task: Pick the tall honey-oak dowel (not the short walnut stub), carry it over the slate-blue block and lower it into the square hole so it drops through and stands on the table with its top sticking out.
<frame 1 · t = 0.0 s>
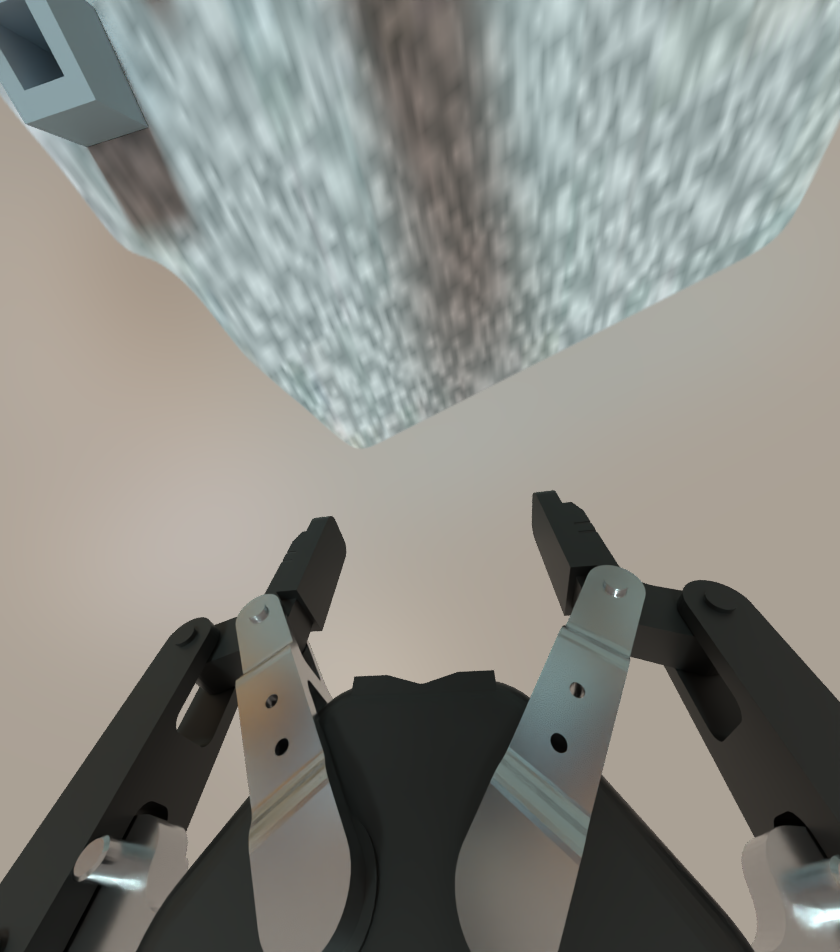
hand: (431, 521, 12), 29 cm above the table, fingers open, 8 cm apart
hole block: (89, 82, 26), on the table
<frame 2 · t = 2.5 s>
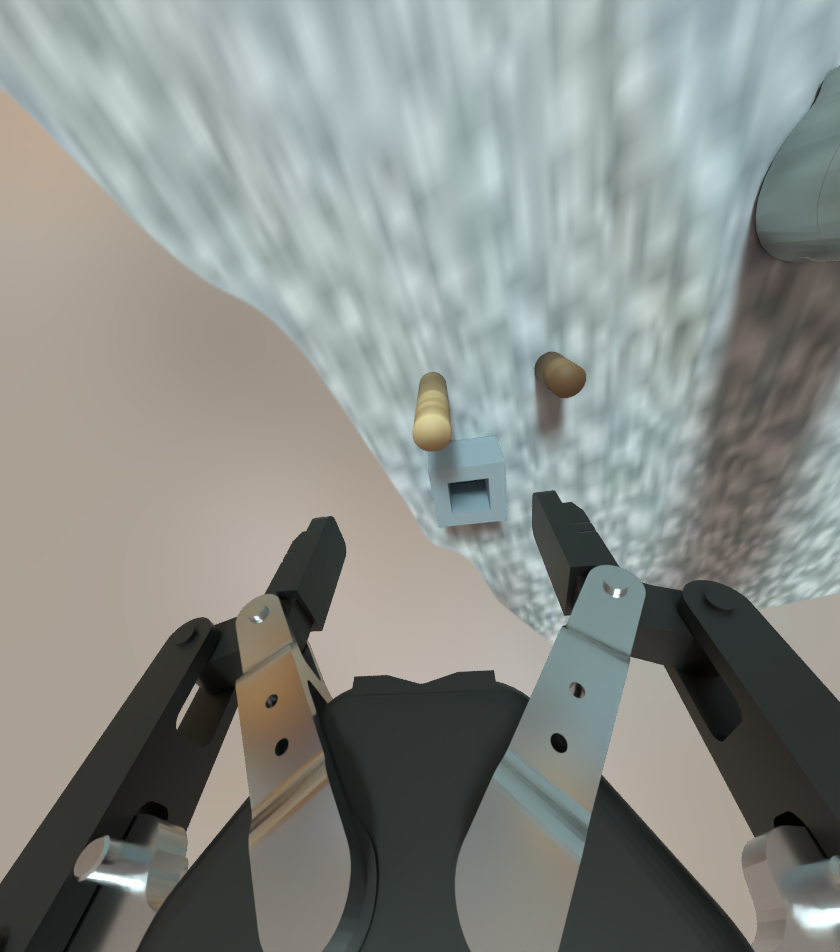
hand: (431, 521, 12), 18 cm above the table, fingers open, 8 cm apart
short dowel: (549, 366, 26), on the table
hole block: (465, 468, 32), on the table
long dowel: (432, 385, 27), on the table
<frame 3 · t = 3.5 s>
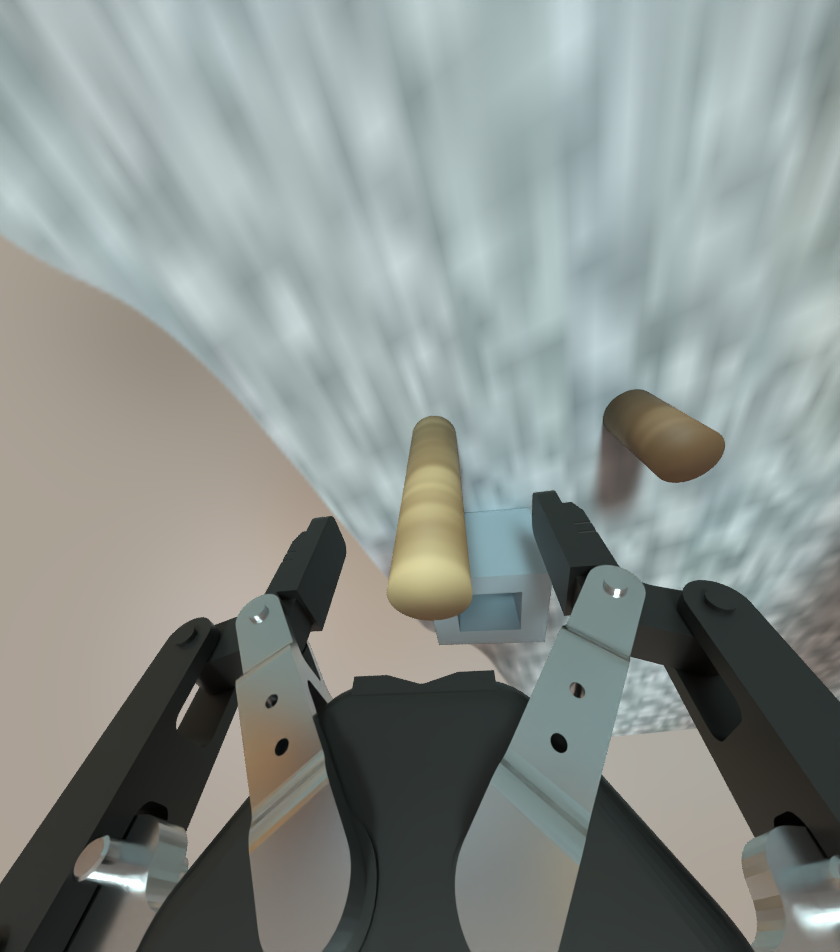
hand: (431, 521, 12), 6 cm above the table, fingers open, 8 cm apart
short dowel: (628, 412, 16), on the table
hole block: (479, 547, 21), on the table
long dowel: (434, 436, 17), on the table
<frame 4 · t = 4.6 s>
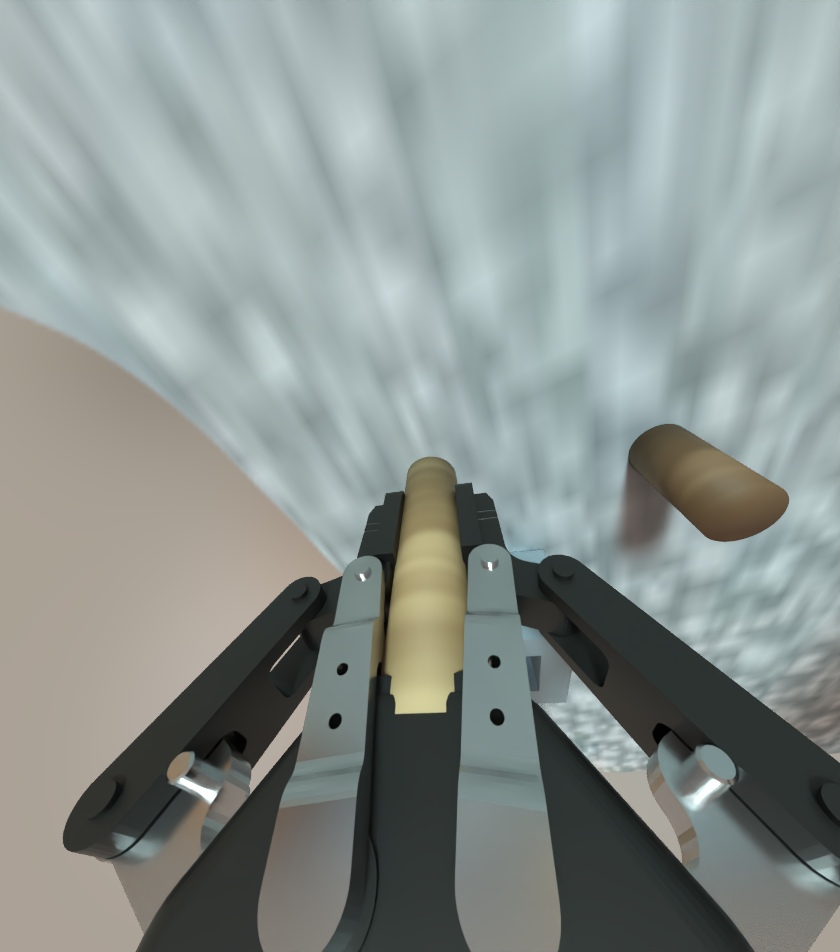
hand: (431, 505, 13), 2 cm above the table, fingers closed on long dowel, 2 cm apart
short dowel: (658, 449, 14), on the table
hole block: (488, 590, 19), on the table
long dowel: (431, 478, 15), on the table, touching gripper
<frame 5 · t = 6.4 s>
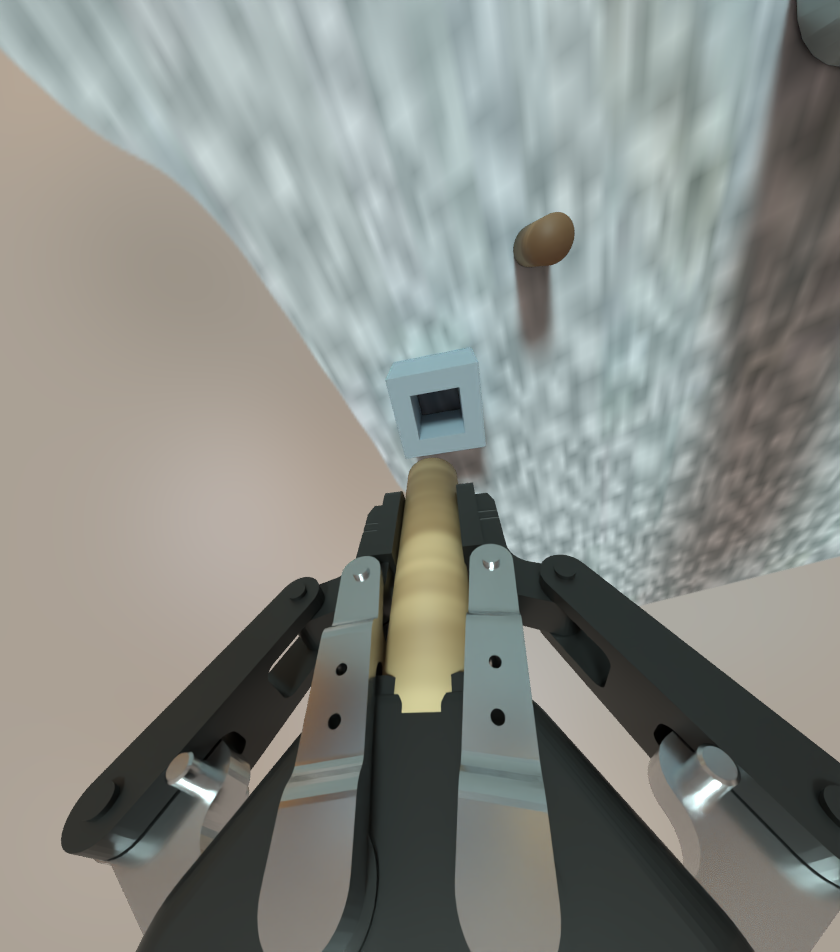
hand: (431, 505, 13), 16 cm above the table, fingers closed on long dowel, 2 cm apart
short dowel: (531, 246, 21), on the table
hole block: (437, 393, 27), on the table
long dowel: (432, 478, 15), point 14 cm above the table, touching gripper
when the fingers open (6 cm above the table, at t = 8.1 s): long dowel drops 4 cm, resting in hole block.
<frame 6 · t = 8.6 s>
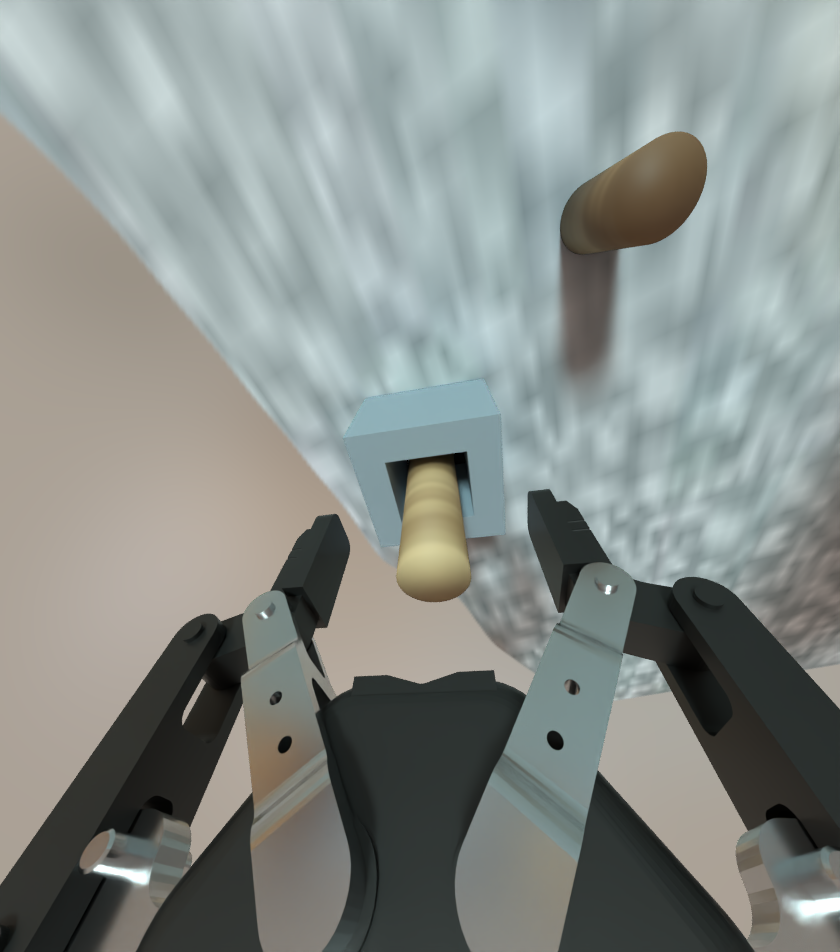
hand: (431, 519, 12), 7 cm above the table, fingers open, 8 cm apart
short dowel: (590, 218, 12), on the table
hole block: (432, 441, 18), on the table
long dowel: (431, 443, 18), resting in hole block
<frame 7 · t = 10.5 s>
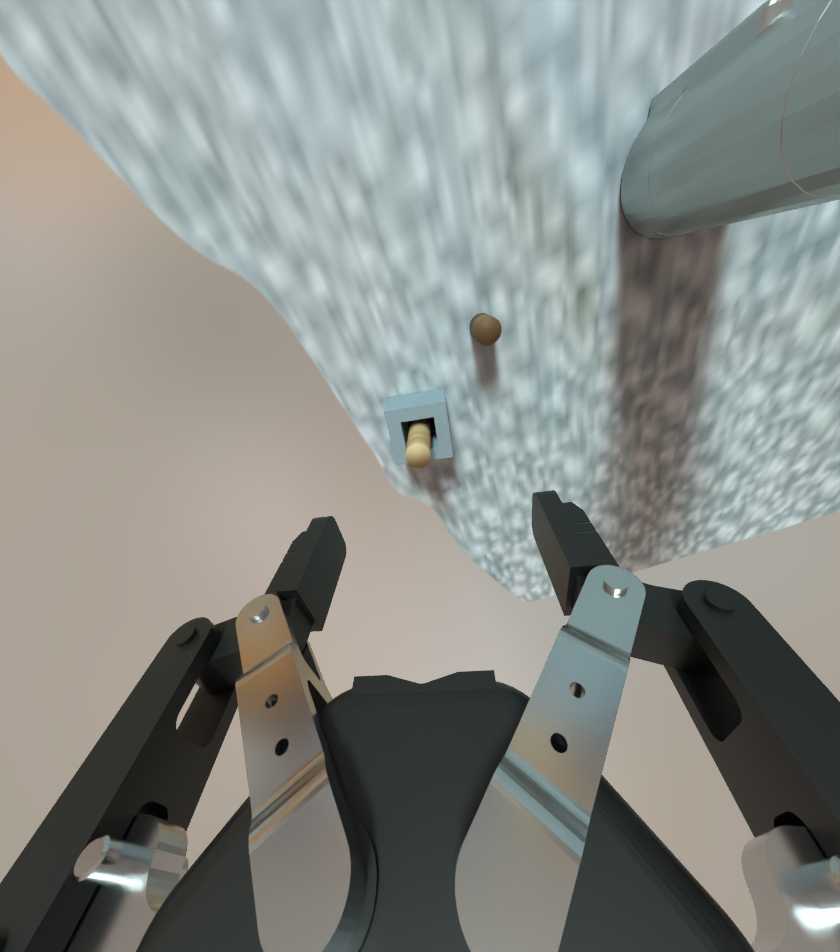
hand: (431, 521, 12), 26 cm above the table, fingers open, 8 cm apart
short dowel: (481, 326, 32), on the table
hole block: (421, 418, 37), on the table
long dowel: (420, 419, 38), resting in hole block
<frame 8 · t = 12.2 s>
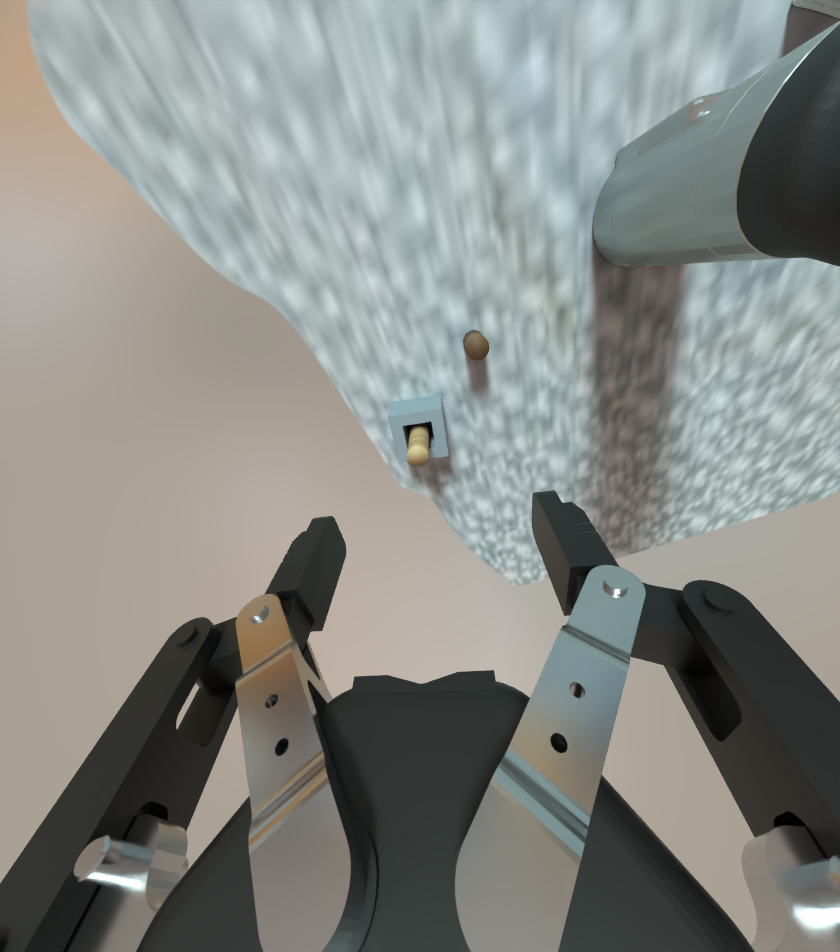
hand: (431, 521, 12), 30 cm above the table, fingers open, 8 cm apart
short dowel: (473, 341, 36), on the table
hole block: (420, 421, 42), on the table
long dowel: (420, 421, 42), resting in hole block
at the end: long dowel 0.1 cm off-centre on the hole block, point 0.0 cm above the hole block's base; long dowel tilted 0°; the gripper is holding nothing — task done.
